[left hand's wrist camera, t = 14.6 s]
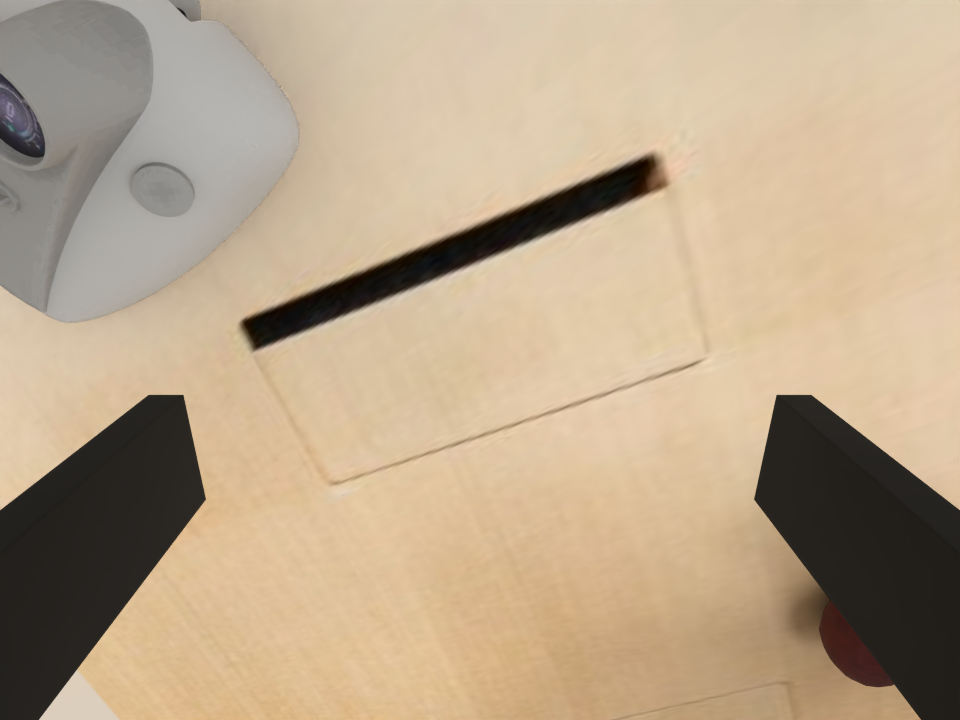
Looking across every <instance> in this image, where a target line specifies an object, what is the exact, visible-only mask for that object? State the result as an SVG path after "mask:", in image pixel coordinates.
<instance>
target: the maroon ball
mask: <svg viewBox="0 0 960 720" xmlns="http://www.w3.org/2000/svg"><path fill="white" fill-rule="evenodd" d="M819 631H820V635H821V639H822V642H823V646H824V648H825V650H826V652H827V654H828V656H829V657H830V659H831V660H832V662H833V663H834V664H835V665H836V666H837V667H838V668H839V669H840V670H841V671H842V672H843V673H844V674H845V675H846V676H847V677H849V678H851V679H852V680H854V681H857V682H859V683H861V684H863V685H865V686H873V687H884V686H892V685H894V683H893V682H892V681H891V679H890V678H889V677H888V675H887V674H886V673H885V671H884V670H883V669H882V667H881V666H880V665H879V663H878V662H877V661H876V659H875V658H874V657H873V656H872V654H871V653H870V652H869V650H868V649H867V648H866V646H865V645H864V644H863V642H862V641H861V640H860V638H859V637H858V636H857V634H856V633H855V632H854V630H853V629H852V628H851V626H850V625H849V624H848V623H847V621H846V620H845V619H844V617H843V616H842V615H841V613H840V612H839V611H838V609H837V608H836V607H835V605H834V604H833V603H832V601H830V602H829V603H828V605H827V606H826V608H825V609H824V611H823V615H822V618H821V622H820V627H819Z"/></svg>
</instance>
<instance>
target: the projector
mask: <svg viewBox="0 0 960 720" xmlns="http://www.w3.org/2000/svg"><path fill="white" fill-rule="evenodd" d="M200 18H201V6H200V2H199V0H0V285H1V286H2V287H3V288H5V289H6V290H7V291H9V292H10V293H11V294H13V295H14V296H16V297H17V298H19V299H20V300H22V301H24V302H25V303H27V304H28V305H30V306H32V307H34V308H36V309H37V310H39V311H40V312H42V313H44V314H45V315H47V316H49V317H51V318H53V319H55V320H58V321H61V322H65V323H76V322H82V321H87V320H91V319H95V318H99V317H102V316H105V315H108V314H111V313H113V312H116V311H118V310H121V309H123V308H126V307H128V306H130V305H132V304H134V303H137V302H139V301H140V300H142V299H144V298H146V297H148V296H150V295H152V294H154V293H156V292H157V291H159V290H161V289H162V288H164V287H166V286H167V285H169V284H170V283H172V282H173V281H175V280H176V279H178V278H179V277H181V276H182V275H184V274H185V273H187V272H188V271H189V270H190V269H192V268H193V267H194V266H196V265H197V264H198V263H200V262H201V261H202V260H203V259H204V258H206V257H207V256H208V255H209V254H210V253H211V252H212V251H214V250H215V249H216V248H217V247H218V246H219V245H220V244H222V243H223V242H224V241H225V240H226V239H227V238H228V237H229V236H230V235H231V234H232V233H233V232H234V231H235V230H236V229H237V228H238V227H239V226H240V225H241V224H242V223H243V222H244V221H245V220H246V218H247V217H248V216H249V215H250V214H251V213H252V212H253V211H254V210H255V209H256V208H257V206H258V205H259V204H260V203H261V202H262V201H263V199H264V198H265V197H266V196H267V195H268V194H269V192H270V191H271V190H272V188H273V187H274V186H275V185H276V183H277V182H278V181H279V179H280V178H281V176H282V175H283V174H284V172H285V171H286V169H287V168H288V166H289V164H290V162H291V161H292V159H293V157H294V155H295V152H296V150H297V147H298V142H299V126H298V122H297V118H296V115H295V112H294V110H293V107H292V105H291V103H290V101H289V100H288V98H287V97H286V95H285V94H284V92H283V91H282V89H281V88H280V86H279V85H278V84H277V82H276V81H275V80H274V78H273V77H272V76H271V75H270V73H269V72H268V71H267V70H266V68H265V67H264V66H263V65H262V64H261V63H260V62H259V60H258V59H257V58H256V57H255V56H254V55H253V54H252V53H251V52H250V51H249V49H248V48H247V47H246V46H245V45H244V44H243V43H242V42H241V41H240V40H239V39H238V38H237V37H236V36H235V35H234V34H233V33H232V32H231V31H230V30H229V29H228V28H227V27H226V26H225V25H224V24H222V23H221V22H218V21H214V20H200Z"/></svg>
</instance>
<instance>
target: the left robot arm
mask: <svg viewBox="0 0 960 720" xmlns="http://www.w3.org/2000/svg"><path fill="white" fill-rule="evenodd" d="M205 500H206V498H205V493H204V489H203V484H202V479H201V475H200V470H199V465H198V461H197V456H196V452H195V447H194V442H193V438H192V433H191V428H190V424H189V419H188V414H187V410H186V405H185V400H184V396H183V395H148V396H147V397H146V398H144V399H143V400H142V401H140V402H139V403H138V404H137V405H135V406H134V407H133V408H131V409H130V410H129V411H127V412H126V413H125V414H124V415H122V416H121V417H120V418H118V419H117V420H116V421H115V422H113V423H112V424H111V425H109V426H108V427H107V428H106V429H104V430H103V431H102V432H100V433H99V434H98V435H97V436H95V437H94V438H93V439H91V440H90V441H89V442H88V443H86V444H85V445H84V446H82V447H81V448H80V449H79V450H77V451H76V452H75V453H73V454H72V455H71V456H70V457H68V458H67V459H66V460H64V461H63V462H62V463H61V464H59V465H58V466H57V467H55V468H54V469H53V470H52V471H50V472H49V473H48V474H46V475H45V476H44V477H42V478H41V479H40V480H39V481H37V482H36V483H35V484H33V485H32V486H31V487H30V488H28V489H27V490H26V491H24V492H23V493H22V494H21V495H19V496H18V497H17V498H15V499H14V500H13V501H12V502H10V503H9V504H8V505H6V506H5V507H4V508H3V509H1V510H0V720H39V719H40V717H41V716H42V715H43V713H44V712H45V711H46V710H47V708H48V707H49V706H50V704H51V703H52V702H53V700H54V699H55V698H56V696H57V695H58V694H59V692H60V691H61V690H62V688H63V687H64V686H65V685H66V683H67V682H68V681H69V679H70V678H71V677H72V675H73V674H74V673H75V671H76V670H77V669H78V667H79V666H80V665H81V663H82V662H83V661H84V659H85V658H86V657H87V656H88V654H89V653H90V652H91V650H92V649H93V648H94V646H95V645H96V644H97V642H98V641H99V640H100V638H101V637H102V636H103V634H104V633H105V632H106V630H107V629H108V628H109V626H110V625H111V624H112V623H113V621H114V620H115V619H116V617H117V616H118V615H119V613H120V612H121V611H122V609H123V608H124V607H125V605H126V604H127V603H128V601H129V600H130V599H131V597H132V596H133V595H134V594H135V592H136V591H137V590H138V588H139V587H140V586H141V584H142V583H143V582H144V580H145V579H146V578H147V576H148V575H149V574H150V572H151V571H152V570H153V568H154V567H155V566H156V564H157V563H158V562H159V561H160V559H161V558H162V557H163V555H164V554H165V553H166V551H167V550H168V549H169V547H170V546H171V545H172V543H173V542H174V541H175V539H176V538H177V537H178V535H179V534H180V533H181V532H182V530H183V529H184V528H185V526H186V525H187V524H188V522H189V521H190V520H191V518H192V517H193V516H194V514H195V513H196V512H197V510H198V509H199V508H200V506H201V505H202V504H203V503H204V501H205ZM754 500H755V501H756V503H757V504H758V505H759V506H760V508H761V509H762V510H763V512H764V513H765V514H766V516H767V517H768V518H769V520H770V521H771V522H772V524H773V525H774V526H775V528H776V529H777V530H778V532H779V533H780V534H781V535H782V537H783V538H784V539H785V541H786V542H787V543H788V545H789V546H790V547H791V549H792V550H793V551H794V553H795V554H796V555H797V557H798V558H799V559H800V561H801V562H802V563H803V564H804V566H805V567H806V568H807V570H808V571H809V572H810V574H811V575H812V576H813V578H814V579H815V580H816V582H817V583H818V584H819V586H820V587H821V588H822V590H823V591H824V592H825V594H826V595H827V596H828V597H829V599H830V600H831V601H832V603H833V604H834V605H835V607H836V608H837V609H838V611H839V612H840V613H841V615H842V616H843V617H844V619H845V620H846V621H847V623H848V624H849V625H850V626H851V628H852V629H853V630H854V632H855V633H856V634H857V636H858V637H859V638H860V640H861V641H862V642H863V644H864V645H865V646H866V648H867V649H868V650H869V652H870V653H871V654H872V656H873V657H874V658H875V659H876V661H877V662H878V663H879V665H880V666H881V667H882V669H883V670H884V671H885V673H886V674H887V675H888V677H889V678H890V679H891V681H892V682H893V683H894V685H895V686H896V687H897V688H898V690H899V691H900V692H901V694H902V695H903V696H904V698H905V699H906V700H907V702H908V703H909V704H910V706H911V707H912V708H913V710H914V711H915V712H916V714H917V715H918V716H919V717H920V719H921V720H960V510H959V509H957V508H956V507H955V506H954V505H952V504H951V503H950V502H948V501H947V500H946V499H945V498H943V497H942V496H941V495H939V494H938V493H937V492H936V491H934V490H933V489H932V488H930V487H929V486H928V485H927V484H925V483H924V482H923V481H921V480H920V479H919V478H918V477H916V476H915V475H914V474H912V473H911V472H910V471H908V470H907V469H906V468H905V467H903V466H902V465H901V464H899V463H898V462H897V461H896V460H894V459H893V458H892V457H890V456H889V455H888V454H887V453H885V452H884V451H883V450H881V449H880V448H879V447H878V446H876V445H875V444H874V443H872V442H871V441H870V440H869V439H867V438H866V437H865V436H863V435H862V434H861V433H860V432H858V431H857V430H856V429H854V428H853V427H852V426H851V425H849V424H848V423H847V422H845V421H844V420H843V419H842V418H840V417H839V416H838V415H836V414H835V413H834V412H832V411H831V410H830V409H829V408H827V407H826V406H825V405H823V404H822V403H821V402H820V401H818V400H817V399H816V398H814V397H813V396H812V395H777V396H776V400H775V405H774V410H773V414H772V419H771V424H770V428H769V433H768V438H767V442H766V447H765V452H764V456H763V461H762V465H761V470H760V475H759V479H758V484H757V489H756V493H755V498H754Z"/></svg>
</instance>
